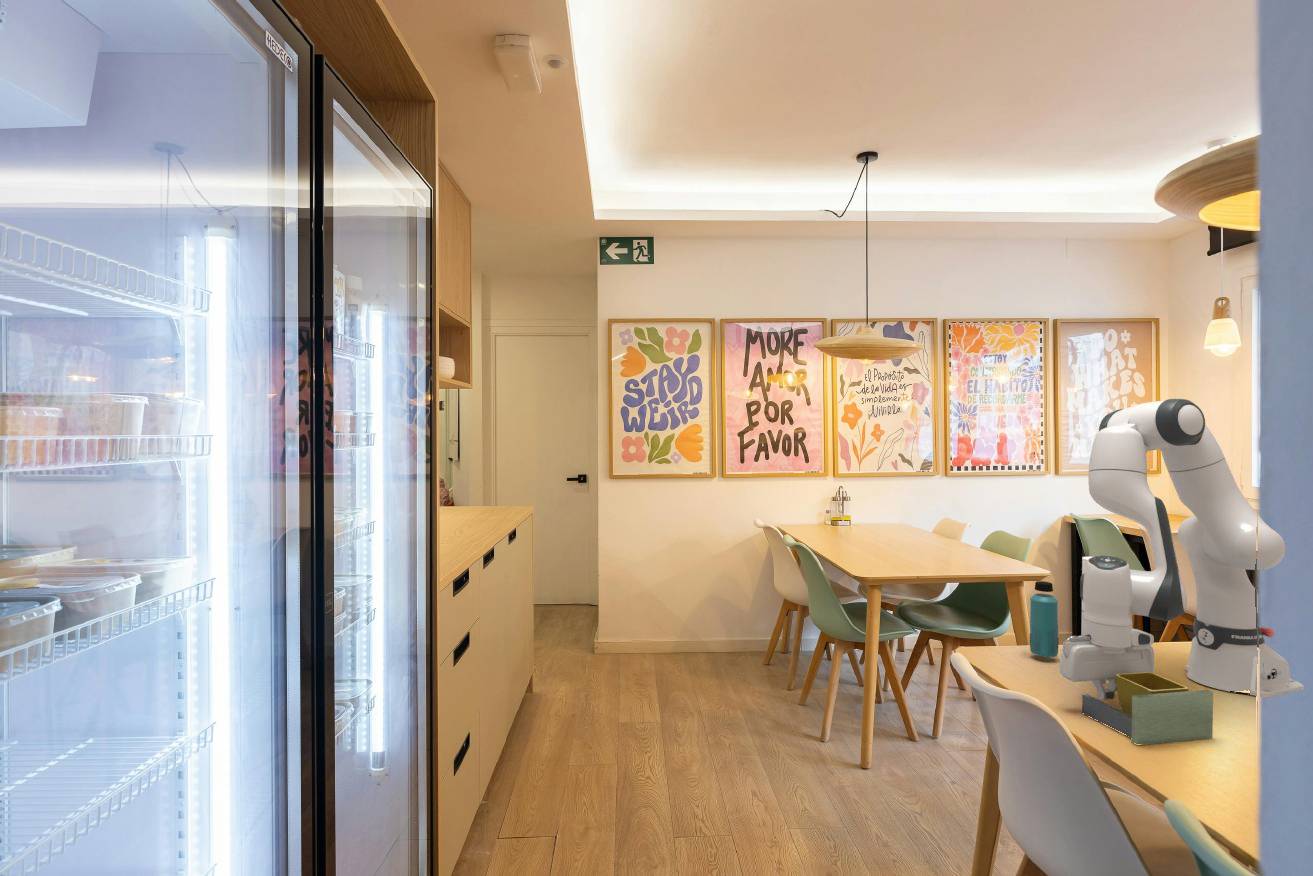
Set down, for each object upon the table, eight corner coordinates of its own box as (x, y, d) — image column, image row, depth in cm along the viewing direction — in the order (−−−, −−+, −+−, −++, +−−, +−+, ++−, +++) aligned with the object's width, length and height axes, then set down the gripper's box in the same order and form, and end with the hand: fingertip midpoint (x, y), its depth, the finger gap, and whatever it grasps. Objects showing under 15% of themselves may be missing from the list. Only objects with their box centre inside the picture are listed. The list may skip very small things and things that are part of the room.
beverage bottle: (1062, 664, 170) (1063, 585, 170) (1033, 662, 171) (1034, 584, 171) (1052, 655, 176) (1053, 579, 176) (1025, 653, 178) (1026, 578, 177)
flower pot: (1189, 733, 131) (1190, 687, 131) (1151, 736, 130) (1152, 690, 130) (1149, 714, 140) (1150, 671, 140) (1113, 717, 139) (1113, 674, 138)
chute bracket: (1146, 708, 143) (1146, 666, 143) (1212, 738, 129) (1213, 692, 129) (1076, 714, 140) (1077, 671, 140) (1137, 745, 126) (1137, 698, 126)
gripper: (1075, 641, 138) (1074, 708, 138) (1160, 636, 141) (1160, 701, 142) (1052, 632, 144) (1051, 696, 144) (1134, 627, 148) (1134, 689, 148)
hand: (1106, 698), depth 143 cm, fingers closed
